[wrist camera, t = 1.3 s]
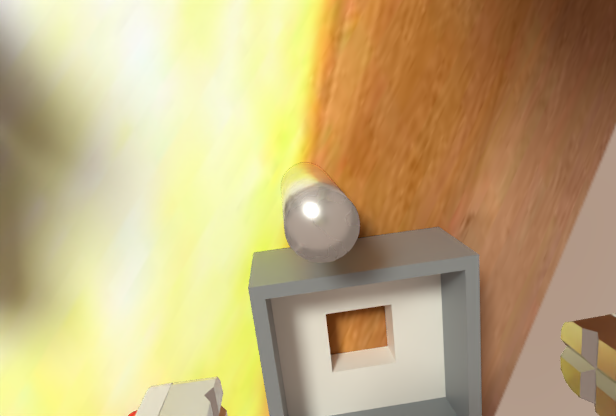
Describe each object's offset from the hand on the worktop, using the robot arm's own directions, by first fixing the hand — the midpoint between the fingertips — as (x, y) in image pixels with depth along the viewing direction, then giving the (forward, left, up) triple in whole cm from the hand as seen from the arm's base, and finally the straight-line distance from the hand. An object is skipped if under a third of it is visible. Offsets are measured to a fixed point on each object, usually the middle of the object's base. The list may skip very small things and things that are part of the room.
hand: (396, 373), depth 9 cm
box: (+13, +3, -24) cm, 27 cm away
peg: (0, 0, -24) cm, 24 cm away
